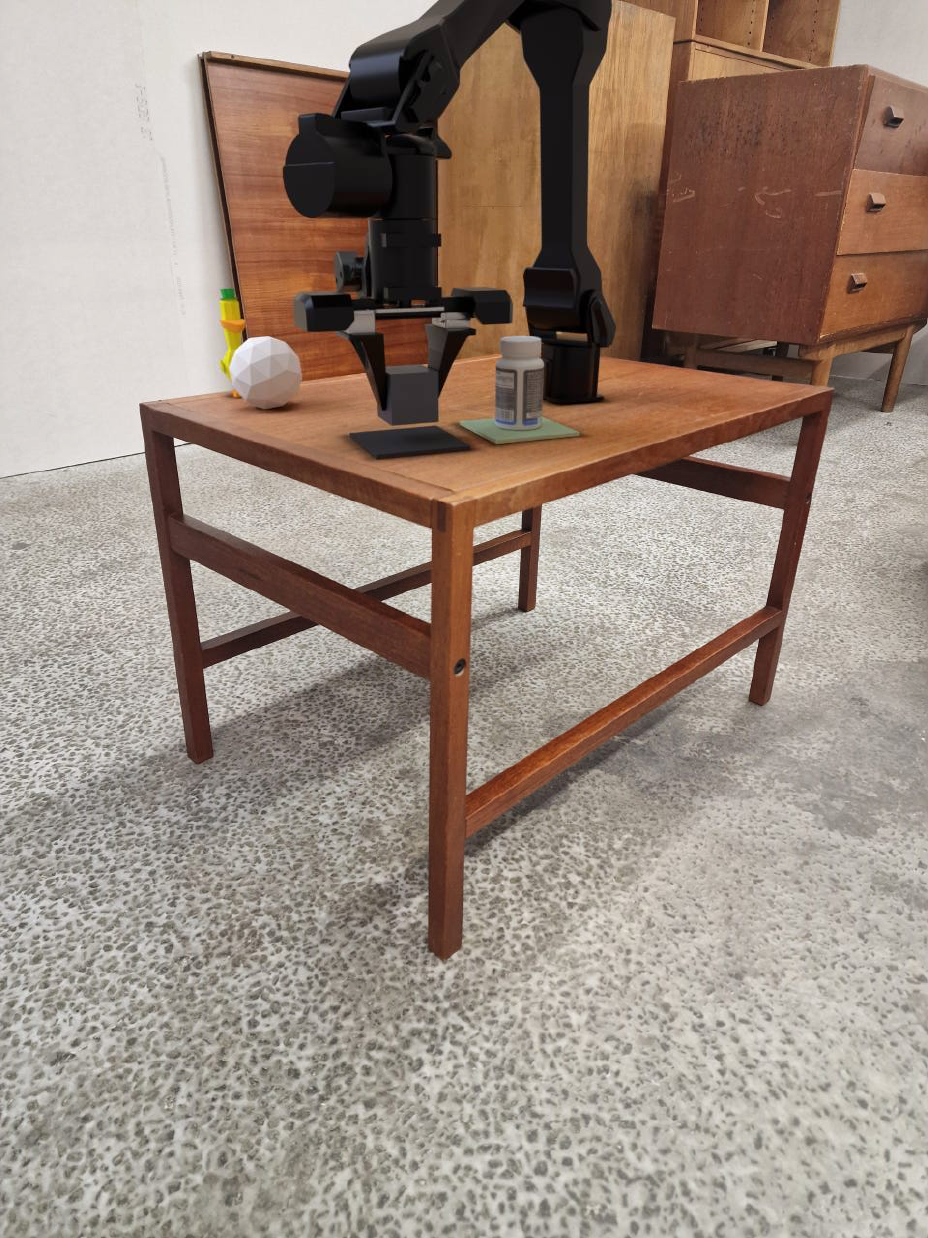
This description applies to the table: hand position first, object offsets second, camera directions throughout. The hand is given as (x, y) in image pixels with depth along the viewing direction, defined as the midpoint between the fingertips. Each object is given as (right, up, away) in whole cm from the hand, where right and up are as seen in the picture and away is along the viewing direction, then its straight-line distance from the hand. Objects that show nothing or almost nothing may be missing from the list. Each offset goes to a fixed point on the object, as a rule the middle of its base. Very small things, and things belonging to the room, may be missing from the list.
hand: (407, 407), depth 74 cm
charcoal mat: (0, -3, +1) cm, 3 cm away
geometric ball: (-17, +4, +17) cm, 24 cm away
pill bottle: (+11, 0, +6) cm, 12 cm away
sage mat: (+11, -1, +6) cm, 12 cm away
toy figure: (-22, +7, +23) cm, 32 cm away
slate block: (0, -1, 0) cm, 1 cm away
